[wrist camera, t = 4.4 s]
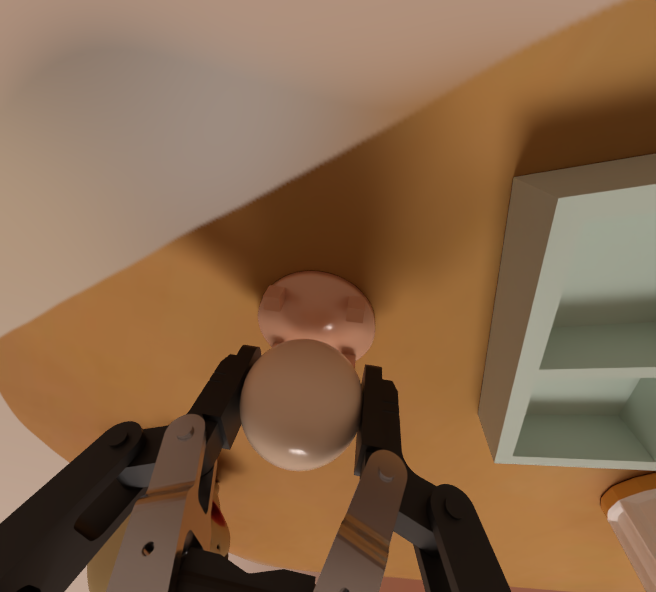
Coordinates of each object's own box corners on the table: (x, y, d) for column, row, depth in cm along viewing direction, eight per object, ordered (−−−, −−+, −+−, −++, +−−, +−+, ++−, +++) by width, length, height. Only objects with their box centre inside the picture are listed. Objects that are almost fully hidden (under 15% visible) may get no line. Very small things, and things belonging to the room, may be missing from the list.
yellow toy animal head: (267, 489, 30) (222, 646, 21) (186, 491, 34) (120, 624, 25) (213, 440, 25) (127, 615, 16) (127, 449, 29) (21, 594, 20)
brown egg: (373, 323, 12) (370, 436, 8) (358, 395, 15) (351, 506, 10) (261, 307, 12) (201, 405, 8) (268, 380, 15) (226, 481, 11)
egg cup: (384, 279, 13) (385, 297, 12) (366, 368, 17) (365, 389, 15) (256, 263, 14) (244, 279, 12) (265, 352, 17) (256, 372, 16)
